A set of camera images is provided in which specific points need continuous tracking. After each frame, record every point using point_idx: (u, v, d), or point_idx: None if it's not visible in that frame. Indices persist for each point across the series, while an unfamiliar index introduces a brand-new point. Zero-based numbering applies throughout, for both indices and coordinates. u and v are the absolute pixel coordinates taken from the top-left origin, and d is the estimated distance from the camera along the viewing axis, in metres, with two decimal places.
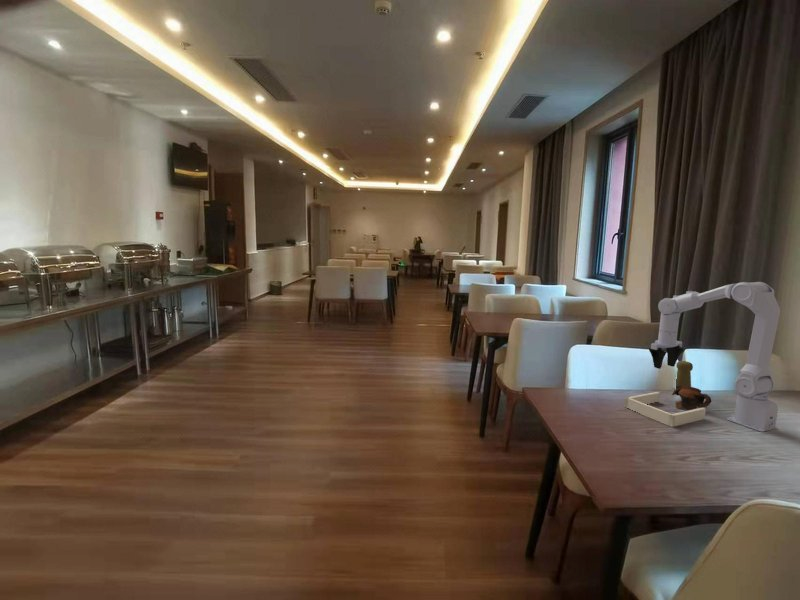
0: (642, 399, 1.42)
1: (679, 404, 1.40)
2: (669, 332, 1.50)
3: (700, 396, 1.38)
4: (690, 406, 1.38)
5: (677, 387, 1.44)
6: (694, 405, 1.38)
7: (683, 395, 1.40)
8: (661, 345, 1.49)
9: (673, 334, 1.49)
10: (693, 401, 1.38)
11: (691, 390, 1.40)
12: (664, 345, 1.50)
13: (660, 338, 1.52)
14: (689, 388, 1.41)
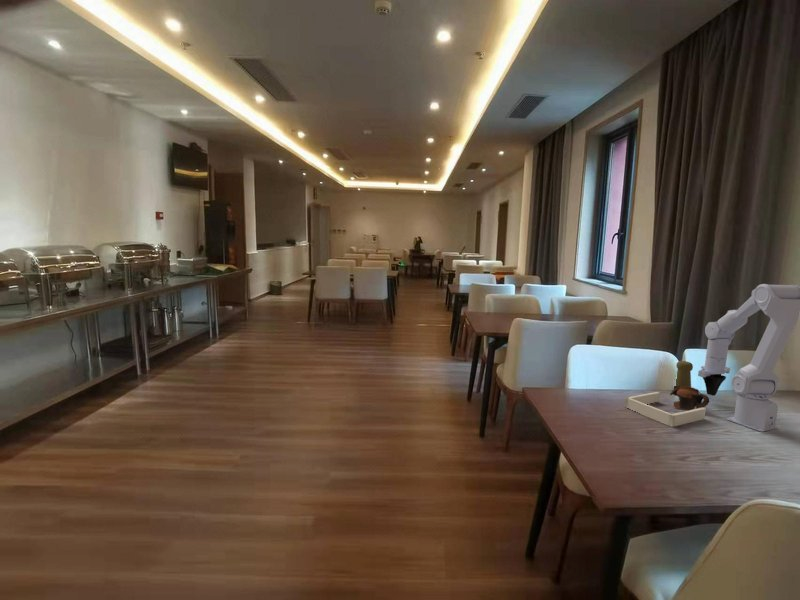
0: (642, 399, 1.42)
1: (677, 404, 1.40)
2: (718, 359, 1.42)
3: (698, 396, 1.38)
4: (688, 406, 1.38)
5: (675, 387, 1.44)
6: (692, 405, 1.38)
7: (681, 395, 1.40)
8: (709, 372, 1.42)
9: (722, 361, 1.41)
10: (691, 401, 1.38)
11: (689, 390, 1.40)
12: (712, 372, 1.42)
13: (707, 365, 1.44)
14: (687, 388, 1.41)
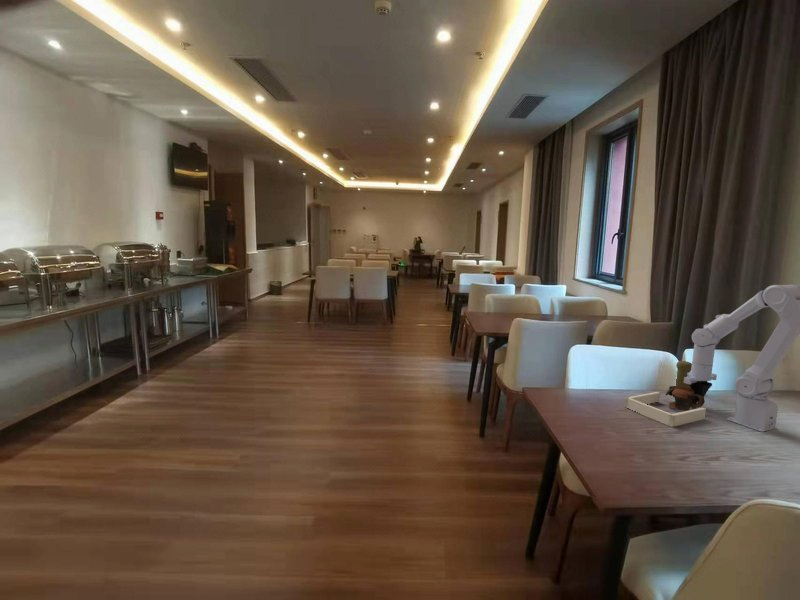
0: (642, 399, 1.42)
1: (672, 404, 1.40)
2: (704, 365, 1.39)
3: (693, 396, 1.37)
4: (683, 407, 1.38)
5: (670, 387, 1.44)
6: (687, 405, 1.37)
7: (676, 395, 1.39)
8: (695, 379, 1.39)
9: (708, 367, 1.39)
10: (686, 401, 1.38)
11: (684, 390, 1.40)
12: (698, 379, 1.39)
13: (693, 371, 1.41)
14: (682, 388, 1.40)
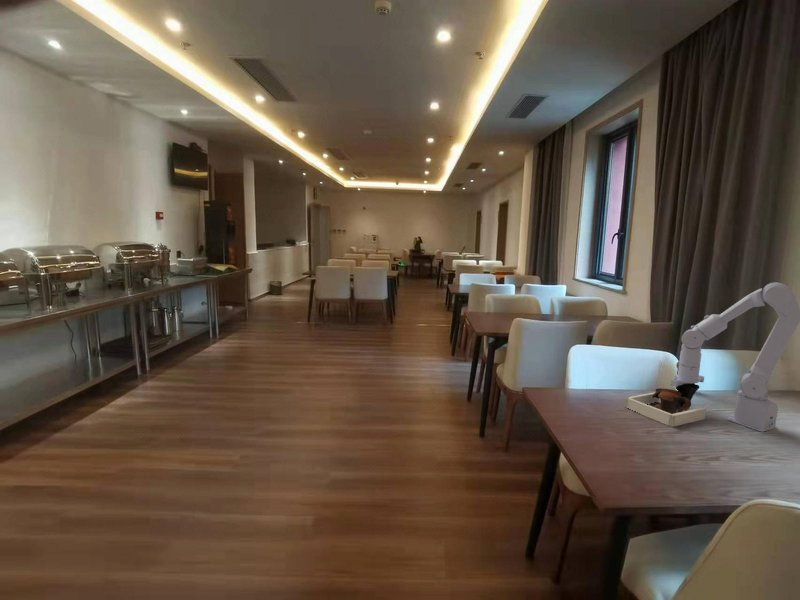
0: (642, 399, 1.42)
1: (659, 407, 1.37)
2: (690, 367, 1.36)
3: (680, 399, 1.35)
4: (670, 410, 1.35)
5: (657, 390, 1.41)
6: (673, 408, 1.35)
7: (663, 398, 1.37)
8: (682, 382, 1.36)
9: (695, 369, 1.36)
10: (673, 404, 1.35)
11: (671, 393, 1.37)
12: (685, 382, 1.36)
13: (680, 373, 1.39)
14: (669, 391, 1.38)
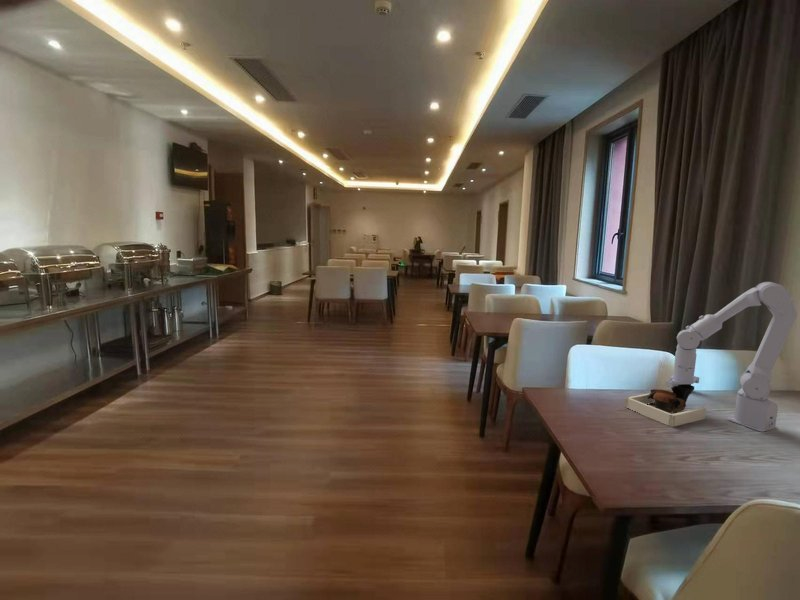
0: (642, 399, 1.42)
1: None
2: (686, 368, 1.35)
3: (675, 400, 1.34)
4: None
5: (652, 391, 1.40)
6: (668, 409, 1.34)
7: (657, 399, 1.36)
8: (677, 383, 1.35)
9: (690, 370, 1.35)
10: (667, 405, 1.34)
11: (666, 394, 1.36)
12: (680, 383, 1.35)
13: (675, 374, 1.37)
14: (664, 392, 1.36)
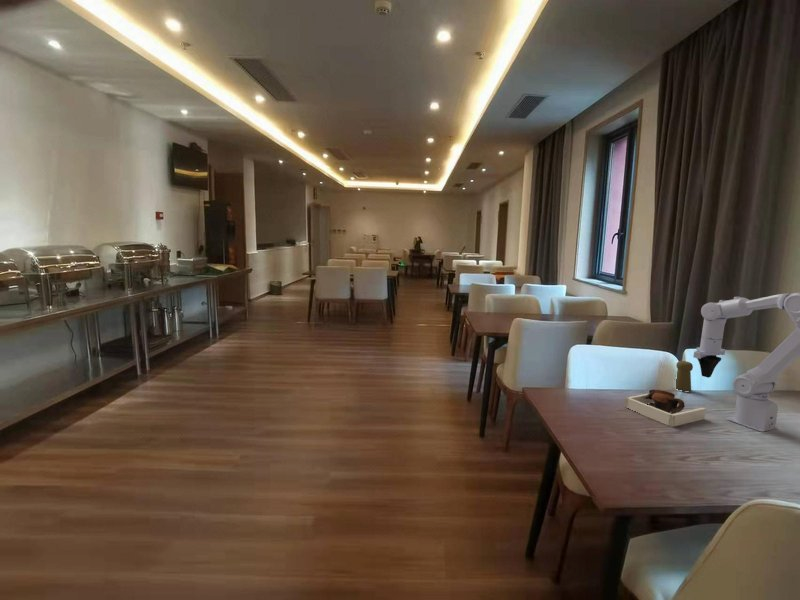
0: (642, 399, 1.42)
1: None
2: (714, 339, 1.38)
3: (673, 400, 1.34)
4: None
5: (650, 391, 1.40)
6: (667, 410, 1.33)
7: (656, 399, 1.35)
8: (705, 353, 1.38)
9: (718, 342, 1.38)
10: (666, 406, 1.34)
11: (664, 394, 1.36)
12: (708, 353, 1.38)
13: (703, 346, 1.40)
14: (662, 392, 1.36)
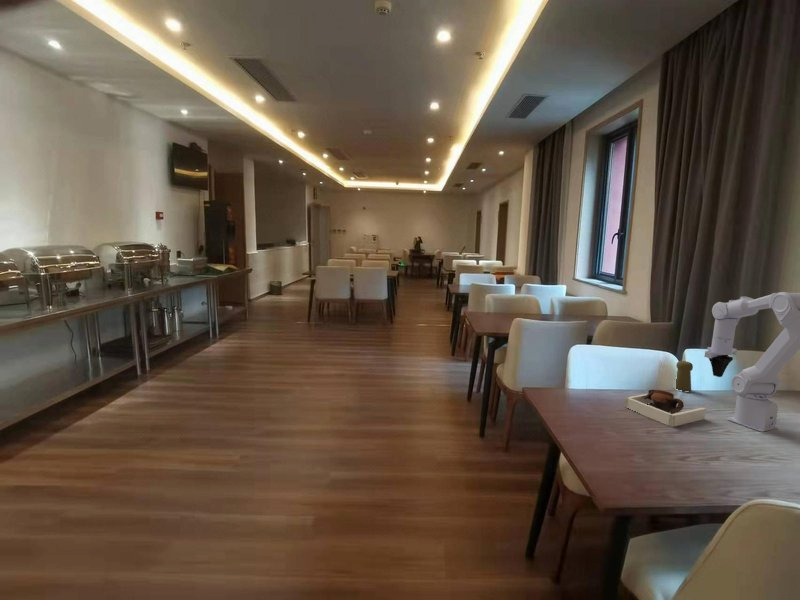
0: (642, 399, 1.42)
1: None
2: (725, 339, 1.39)
3: (672, 400, 1.34)
4: None
5: (650, 391, 1.40)
6: (666, 410, 1.33)
7: (655, 399, 1.35)
8: (716, 353, 1.39)
9: (729, 341, 1.38)
10: (665, 406, 1.34)
11: (663, 394, 1.36)
12: (719, 353, 1.39)
13: (714, 345, 1.41)
14: (661, 392, 1.36)
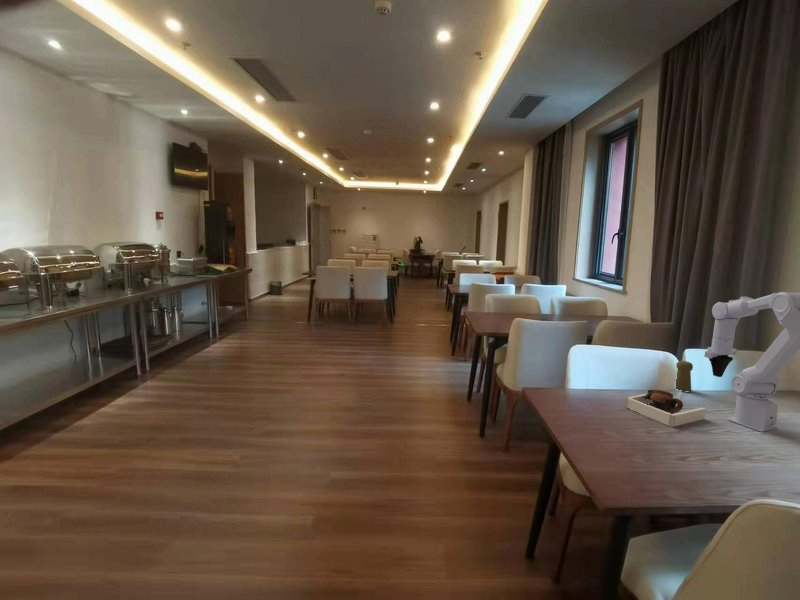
0: (642, 399, 1.42)
1: None
2: (725, 339, 1.39)
3: (672, 400, 1.33)
4: None
5: (649, 391, 1.40)
6: (665, 410, 1.33)
7: (654, 400, 1.35)
8: (716, 353, 1.39)
9: (729, 341, 1.38)
10: (664, 406, 1.34)
11: (663, 394, 1.36)
12: (719, 353, 1.39)
13: (714, 345, 1.41)
14: (661, 392, 1.36)
